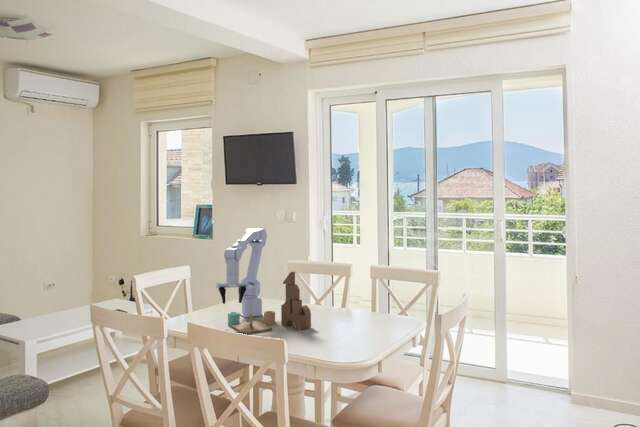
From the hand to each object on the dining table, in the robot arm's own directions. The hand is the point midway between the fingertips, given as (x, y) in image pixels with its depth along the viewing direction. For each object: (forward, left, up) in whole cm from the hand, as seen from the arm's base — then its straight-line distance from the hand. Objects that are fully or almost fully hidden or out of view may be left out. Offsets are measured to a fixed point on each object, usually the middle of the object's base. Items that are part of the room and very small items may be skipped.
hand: (232, 303), depth 229 cm
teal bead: (-1, 0, -10) cm, 10 cm away
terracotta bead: (-16, +7, -10) cm, 20 cm away
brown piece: (-5, +12, -10) cm, 16 cm away
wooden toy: (-24, +18, -10) cm, 31 cm away
